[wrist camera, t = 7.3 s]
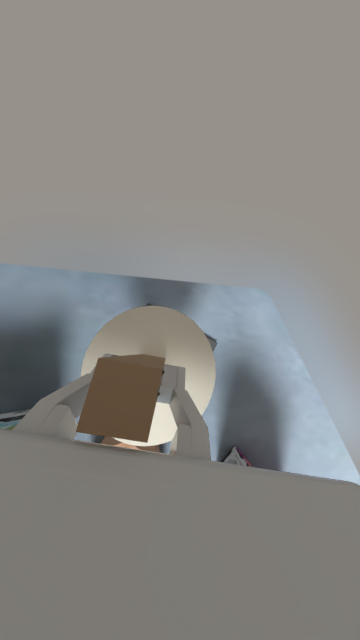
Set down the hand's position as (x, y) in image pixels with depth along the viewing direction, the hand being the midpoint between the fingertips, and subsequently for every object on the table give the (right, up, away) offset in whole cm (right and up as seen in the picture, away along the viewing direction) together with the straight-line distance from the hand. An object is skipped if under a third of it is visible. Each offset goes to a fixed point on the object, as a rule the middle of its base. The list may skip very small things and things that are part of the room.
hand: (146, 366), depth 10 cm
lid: (-1, -2, +5) cm, 5 cm away
